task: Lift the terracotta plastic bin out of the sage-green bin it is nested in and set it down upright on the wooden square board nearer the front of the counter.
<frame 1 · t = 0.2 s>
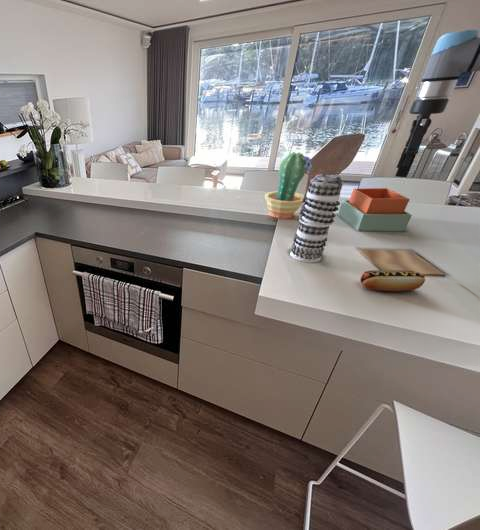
hand: (401, 172, 95), 20 cm above the countertop, tool pointing down, fingers open, 13 cm apart
wooden square board: (397, 262, 84), on the countertop
sage bin: (368, 223, 108), on the countertop
terracotta bin: (368, 222, 108), point 1 cm above the countertop, touching sage bin
potted cactus: (280, 215, 122), on the countertop
decorative candle: (304, 256, 91), on the countertop
hot dog: (387, 290, 74), on the countertop
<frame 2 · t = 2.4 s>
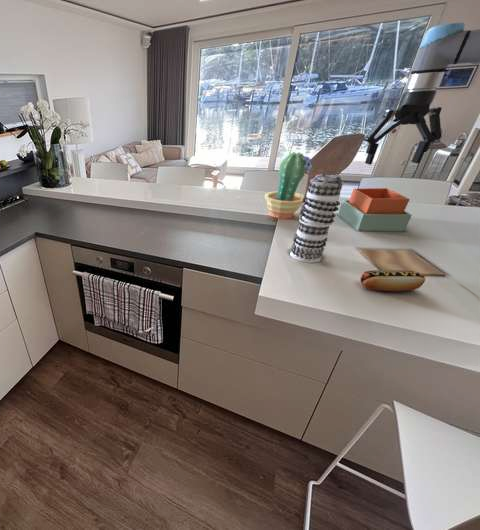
hand: (391, 163, 97), 22 cm above the countertop, tool pointing down, fingers open, 13 cm apart
nothing on the countertop moved.
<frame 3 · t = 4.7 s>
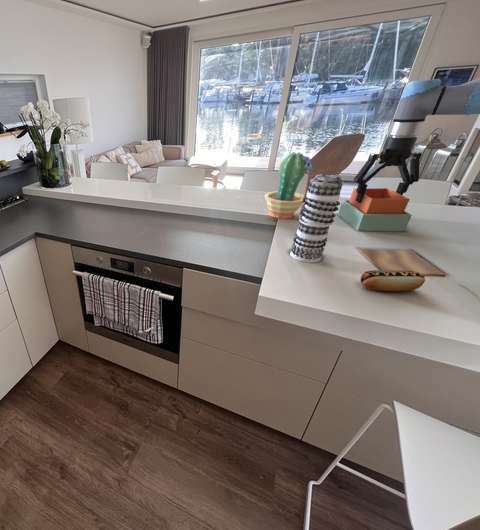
hand: (376, 201, 104), 9 cm above the countertop, tool pointing down, fingers closed on terracotta bin, 11 cm apart
terracotta bin: (368, 222, 108), point 1 cm above the countertop, touching gripper, sage bin
everything else where it was.
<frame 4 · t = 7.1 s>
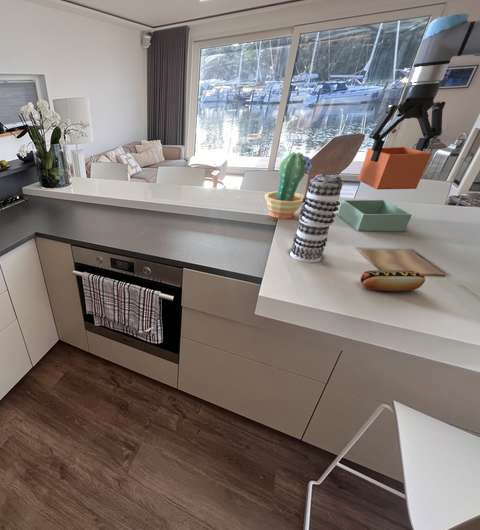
hand: (394, 160, 96), 23 cm above the countertop, tool pointing down, fingers closed on terracotta bin, 11 cm apart
terracotta bin: (385, 184, 100), point 15 cm above the countertop, touching gripper
everything else where it was.
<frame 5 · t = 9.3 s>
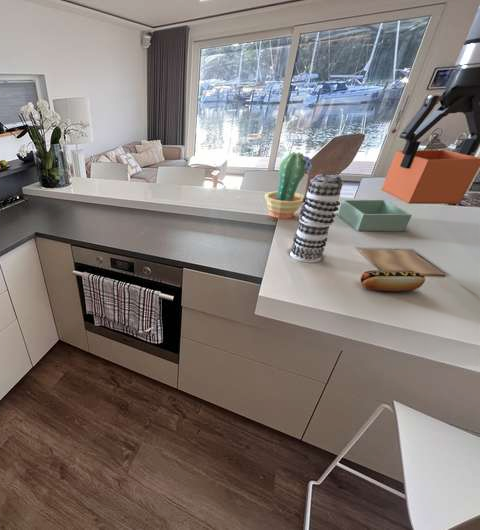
hand: (430, 166, 75), 26 cm above the countertop, tool pointing down, fingers closed on terracotta bin, 11 cm apart
terracotta bin: (417, 196, 79), point 18 cm above the countertop, touching gripper
everything else where it was.
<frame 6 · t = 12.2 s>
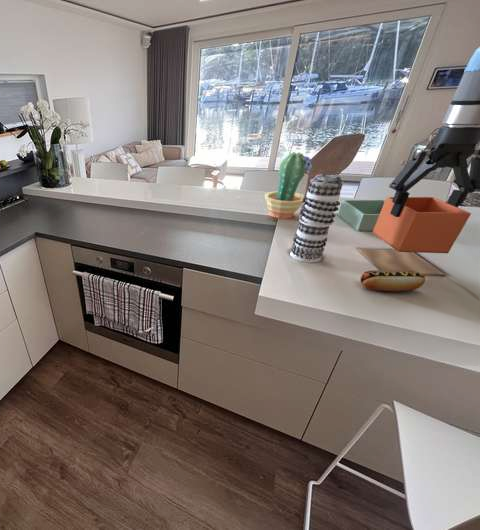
hand: (420, 215, 77), 15 cm above the countertop, tool pointing down, fingers closed on terracotta bin, 11 cm apart
terracotta bin: (407, 241, 81), point 7 cm above the countertop, touching gripper
everything else where it was.
when the fingers open (8 cm above the countertop, at t = 14.3 s): terracotta bin stays where it is, resting on wooden square board.
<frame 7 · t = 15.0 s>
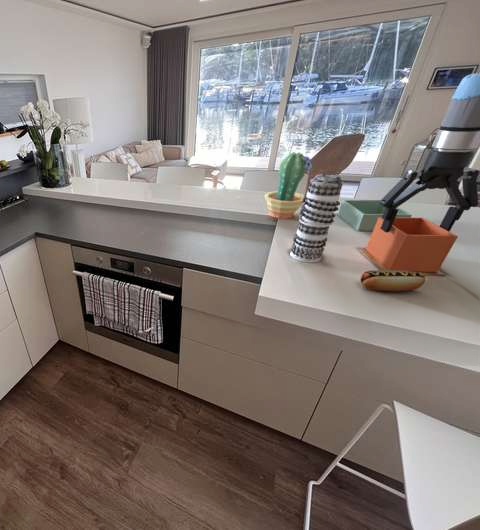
hand: (413, 231, 79), 10 cm above the countertop, tool pointing down, fingers open, 13 cm apart
terracotta bin: (398, 260, 84), resting on wooden square board
everything else where it was.
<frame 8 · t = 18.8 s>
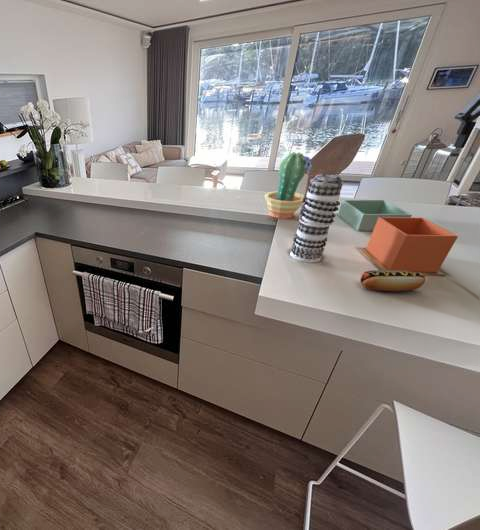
nothing on the countertop moved.
at the end: terracotta bin inside the target area on the wooden square board (0.1 cm from its centre), point 0.5 cm above the wooden square board's base; terracotta bin tilted 0°; terracotta bin touching wooden square board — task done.
